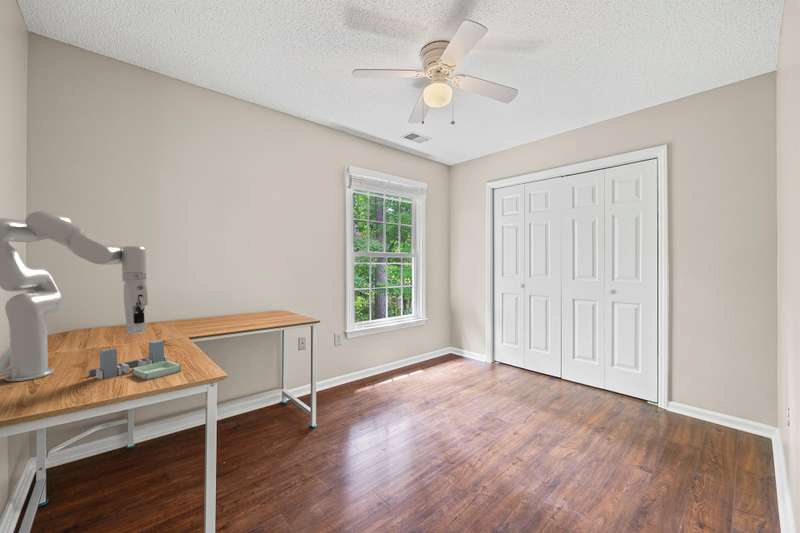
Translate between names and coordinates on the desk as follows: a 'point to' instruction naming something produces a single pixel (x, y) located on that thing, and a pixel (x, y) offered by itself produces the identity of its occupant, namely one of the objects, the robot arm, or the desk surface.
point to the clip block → (123, 367)
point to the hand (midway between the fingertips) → (135, 321)
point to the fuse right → (156, 351)
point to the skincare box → (130, 320)
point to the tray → (156, 370)
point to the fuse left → (108, 362)
